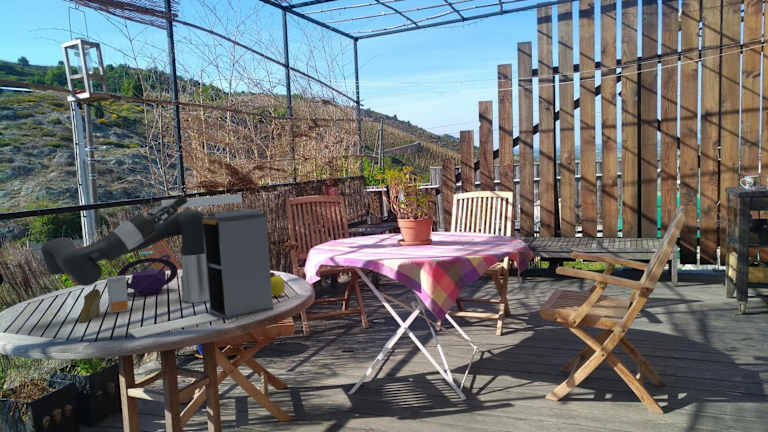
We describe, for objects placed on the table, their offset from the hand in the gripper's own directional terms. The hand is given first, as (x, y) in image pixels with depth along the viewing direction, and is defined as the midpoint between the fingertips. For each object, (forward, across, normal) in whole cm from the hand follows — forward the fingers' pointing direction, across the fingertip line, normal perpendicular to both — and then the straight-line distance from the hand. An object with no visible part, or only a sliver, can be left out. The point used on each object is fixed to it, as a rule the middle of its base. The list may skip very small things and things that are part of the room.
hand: (182, 198), depth 166 cm
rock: (-40, +33, +22) cm, 56 cm away
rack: (-5, 0, +41) cm, 42 cm away
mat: (-25, 0, +30) cm, 39 cm away
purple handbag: (-17, +56, +35) cm, 68 cm away
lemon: (+10, +8, +50) cm, 52 cm away
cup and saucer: (+12, +23, +52) cm, 58 cm away
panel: (+4, 0, +5) cm, 7 cm away
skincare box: (-31, +35, +27) cm, 54 cm away
